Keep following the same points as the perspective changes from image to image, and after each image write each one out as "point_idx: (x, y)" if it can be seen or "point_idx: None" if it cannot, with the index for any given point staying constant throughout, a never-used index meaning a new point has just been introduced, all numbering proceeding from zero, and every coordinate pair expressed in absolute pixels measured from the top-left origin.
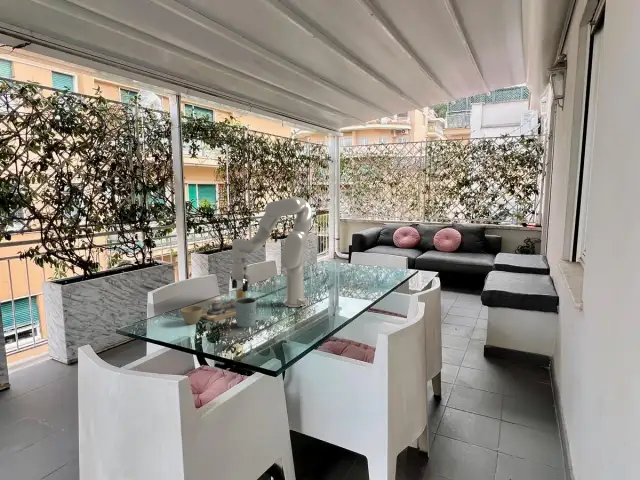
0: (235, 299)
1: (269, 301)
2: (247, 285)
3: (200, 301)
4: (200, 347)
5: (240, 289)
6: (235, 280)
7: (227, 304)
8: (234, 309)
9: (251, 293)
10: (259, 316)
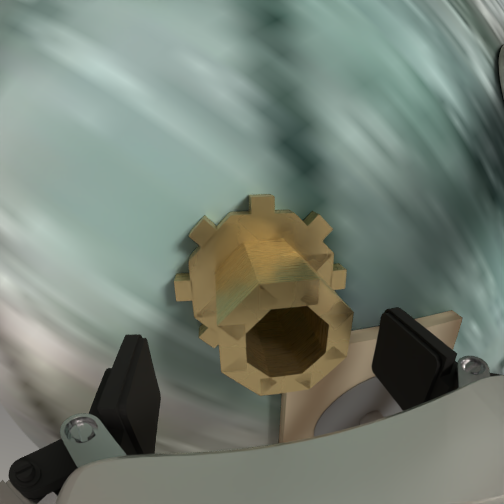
0: (204, 316)
1: (432, 114)
2: (441, 342)
3: (51, 424)
4: None
5: (248, 330)
6: (121, 447)
7: (288, 419)
8: None
9: (93, 39)
10: (500, 338)
